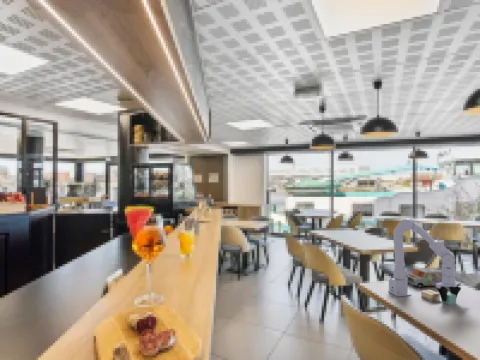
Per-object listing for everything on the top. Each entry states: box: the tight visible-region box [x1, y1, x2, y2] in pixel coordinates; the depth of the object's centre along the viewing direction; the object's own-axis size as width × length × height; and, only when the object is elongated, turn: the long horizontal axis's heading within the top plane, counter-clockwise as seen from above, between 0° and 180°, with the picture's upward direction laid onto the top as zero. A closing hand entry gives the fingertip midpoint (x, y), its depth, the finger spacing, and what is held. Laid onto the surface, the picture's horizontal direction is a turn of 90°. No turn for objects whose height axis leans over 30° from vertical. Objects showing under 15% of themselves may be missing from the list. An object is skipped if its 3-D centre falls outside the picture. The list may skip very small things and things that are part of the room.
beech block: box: [420, 289, 441, 302], centre depth 158 cm, size 6×6×4 cm
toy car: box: [406, 267, 442, 289], centre depth 180 cm, size 11×25×10 cm, turn 95°
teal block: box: [440, 291, 457, 306], centre depth 153 cm, size 4×4×5 cm
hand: (448, 300), depth 153 cm, fingers open, 6 cm apart
